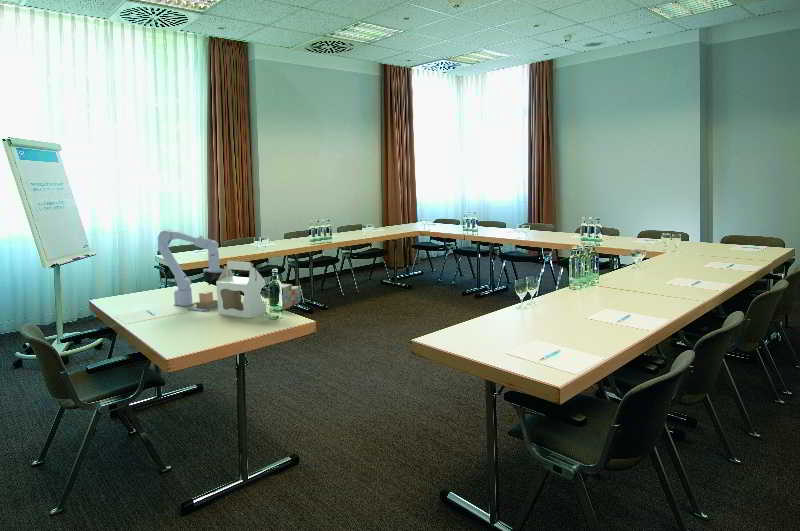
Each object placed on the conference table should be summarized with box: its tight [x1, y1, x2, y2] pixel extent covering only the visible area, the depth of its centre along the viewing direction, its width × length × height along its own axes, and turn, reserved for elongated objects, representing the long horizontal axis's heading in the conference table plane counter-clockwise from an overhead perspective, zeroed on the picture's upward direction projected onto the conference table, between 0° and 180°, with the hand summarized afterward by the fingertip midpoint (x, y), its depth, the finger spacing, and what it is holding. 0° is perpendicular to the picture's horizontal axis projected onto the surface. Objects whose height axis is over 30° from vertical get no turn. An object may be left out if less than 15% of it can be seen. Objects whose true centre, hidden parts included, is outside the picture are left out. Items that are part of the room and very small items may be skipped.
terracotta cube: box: [198, 291, 214, 303], centre depth 299 cm, size 5×5×5 cm
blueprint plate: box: [188, 299, 218, 313], centre depth 300 cm, size 12×16×4 cm
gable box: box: [216, 260, 267, 319], centre depth 283 cm, size 22×13×28 cm, turn 63°
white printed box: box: [281, 283, 302, 310], centre depth 299 cm, size 21×6×12 cm, turn 162°
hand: (215, 284), depth 311 cm, fingers open, 7 cm apart
